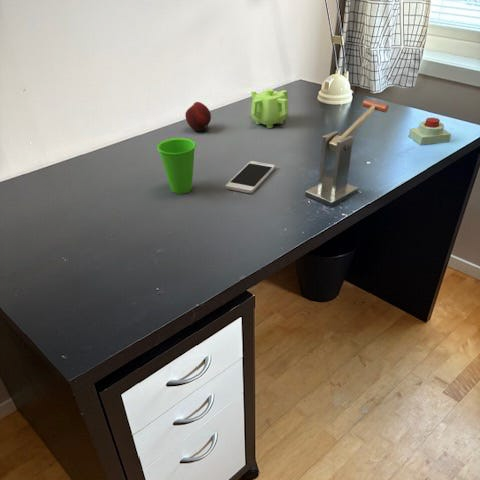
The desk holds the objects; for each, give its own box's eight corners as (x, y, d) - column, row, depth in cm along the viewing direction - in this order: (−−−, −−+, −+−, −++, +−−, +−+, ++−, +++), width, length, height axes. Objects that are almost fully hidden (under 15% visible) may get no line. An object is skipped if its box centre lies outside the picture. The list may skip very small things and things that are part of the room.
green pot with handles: (287, 116, 154) (288, 83, 147) (289, 129, 145) (290, 95, 139) (250, 116, 154) (250, 84, 148) (250, 130, 146) (250, 96, 139)
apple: (199, 123, 151) (197, 97, 145) (217, 129, 147) (215, 102, 141) (182, 130, 147) (179, 103, 141) (200, 136, 143) (198, 108, 137)
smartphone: (225, 188, 117) (225, 185, 116) (250, 163, 127) (250, 160, 126) (251, 193, 114) (251, 190, 114) (275, 168, 125) (275, 164, 124)
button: (433, 123, 136) (435, 116, 135) (440, 127, 133) (442, 121, 132) (422, 124, 136) (423, 118, 134) (429, 129, 133) (430, 122, 132)
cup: (155, 190, 117) (148, 146, 110) (182, 177, 122) (178, 134, 115) (180, 201, 113) (174, 156, 105) (207, 187, 118) (203, 144, 110)
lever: (367, 105, 111) (366, 96, 110) (388, 111, 108) (388, 102, 106) (323, 149, 108) (321, 140, 106) (344, 156, 105) (343, 147, 103)
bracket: (331, 181, 118) (337, 125, 109) (357, 192, 114) (366, 134, 105) (305, 195, 113) (309, 137, 104) (331, 207, 109) (338, 147, 100)
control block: (436, 132, 140) (439, 118, 137) (449, 141, 135) (453, 127, 132) (408, 136, 139) (411, 122, 136) (420, 145, 134) (423, 130, 131)
